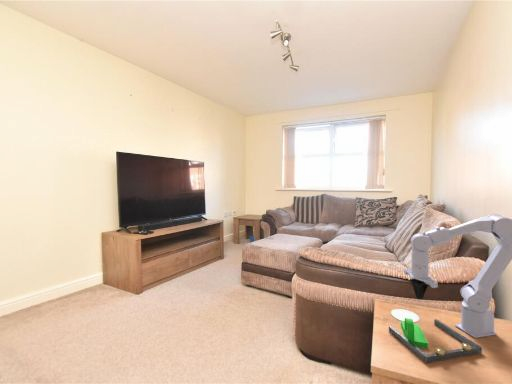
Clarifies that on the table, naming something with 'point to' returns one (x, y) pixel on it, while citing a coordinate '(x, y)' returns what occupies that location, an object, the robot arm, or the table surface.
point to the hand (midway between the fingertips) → (419, 297)
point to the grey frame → (440, 354)
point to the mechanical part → (414, 333)
